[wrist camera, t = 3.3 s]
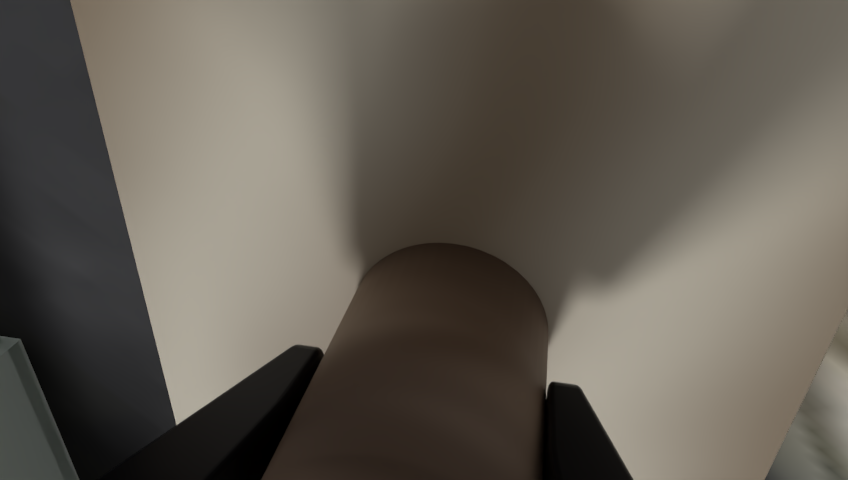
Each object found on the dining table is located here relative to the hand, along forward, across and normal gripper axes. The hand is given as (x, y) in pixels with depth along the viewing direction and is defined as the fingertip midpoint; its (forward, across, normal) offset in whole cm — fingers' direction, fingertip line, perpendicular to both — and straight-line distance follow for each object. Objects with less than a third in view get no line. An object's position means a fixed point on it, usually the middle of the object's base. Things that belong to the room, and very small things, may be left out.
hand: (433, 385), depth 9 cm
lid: (+2, 0, 0) cm, 2 cm away
